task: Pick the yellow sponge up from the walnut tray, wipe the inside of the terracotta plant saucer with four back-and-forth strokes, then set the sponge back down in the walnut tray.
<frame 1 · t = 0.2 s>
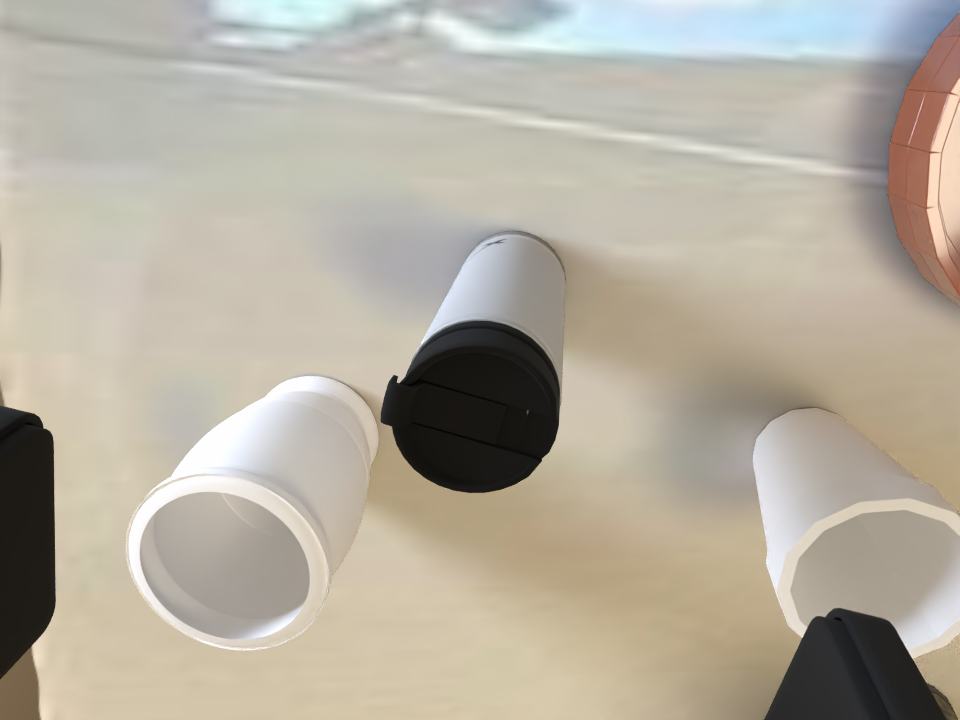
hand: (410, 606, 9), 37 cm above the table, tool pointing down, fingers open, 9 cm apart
travel mug: (511, 280, 46), on the table
foam cup: (803, 451, 48), on the table
jar: (319, 430, 52), on the table
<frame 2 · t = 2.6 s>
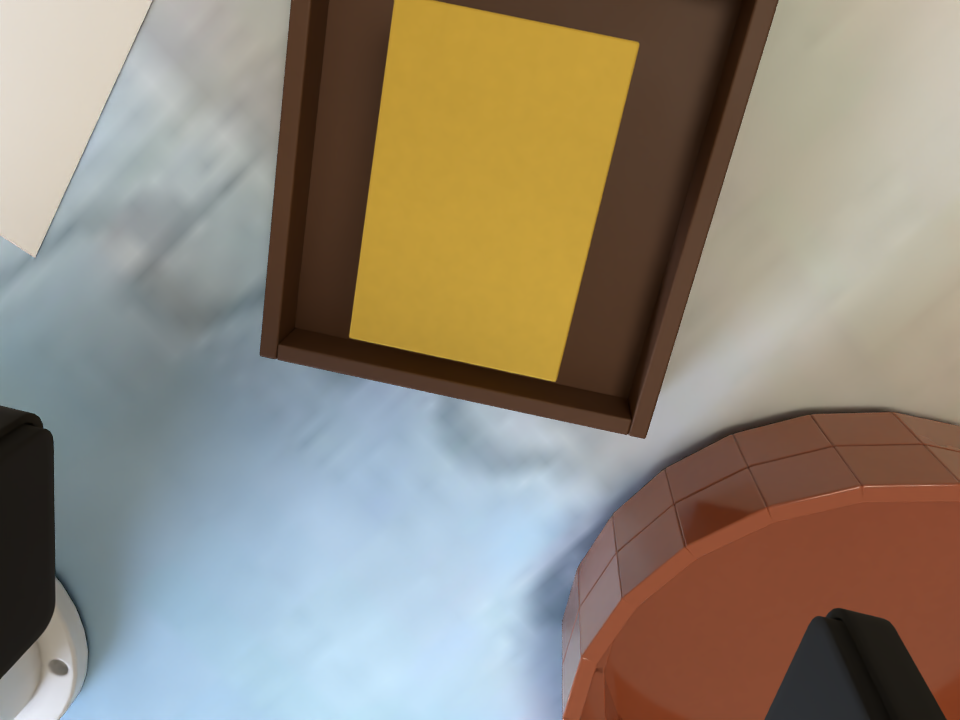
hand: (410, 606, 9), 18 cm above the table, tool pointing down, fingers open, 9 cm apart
terracotta plant saucer: (820, 639, 30), on the table
sponge: (496, 178, 25), resting on tray
tray: (497, 176, 25), on the table
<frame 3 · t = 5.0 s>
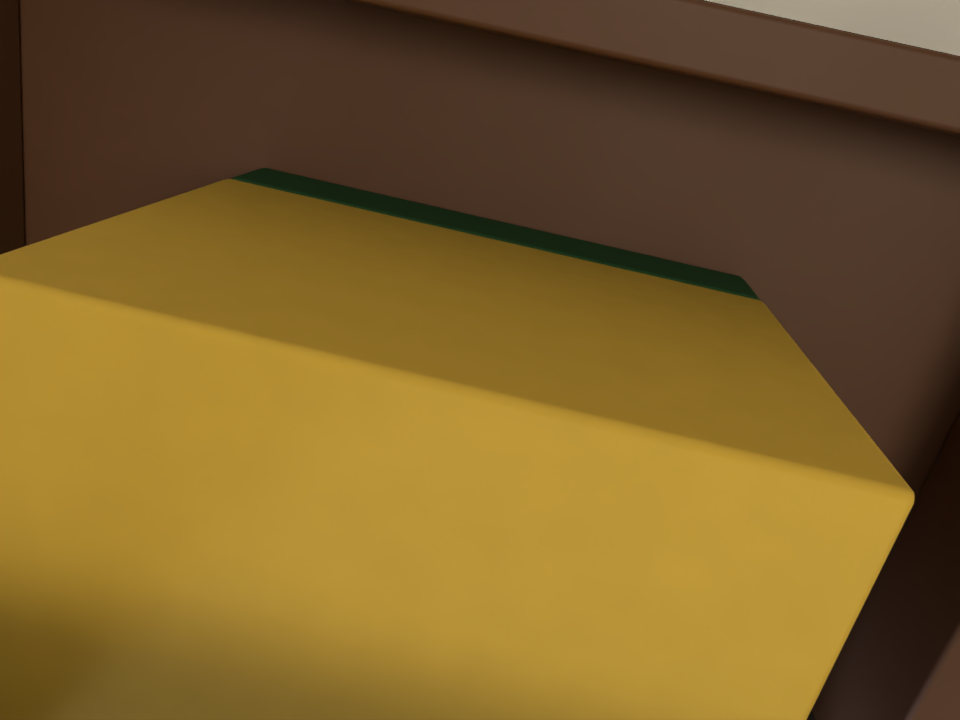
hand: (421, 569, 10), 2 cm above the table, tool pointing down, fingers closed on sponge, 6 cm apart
sponge: (434, 527, 11), point 1 cm above the table, touching gripper, tray
tray: (439, 508, 11), on the table
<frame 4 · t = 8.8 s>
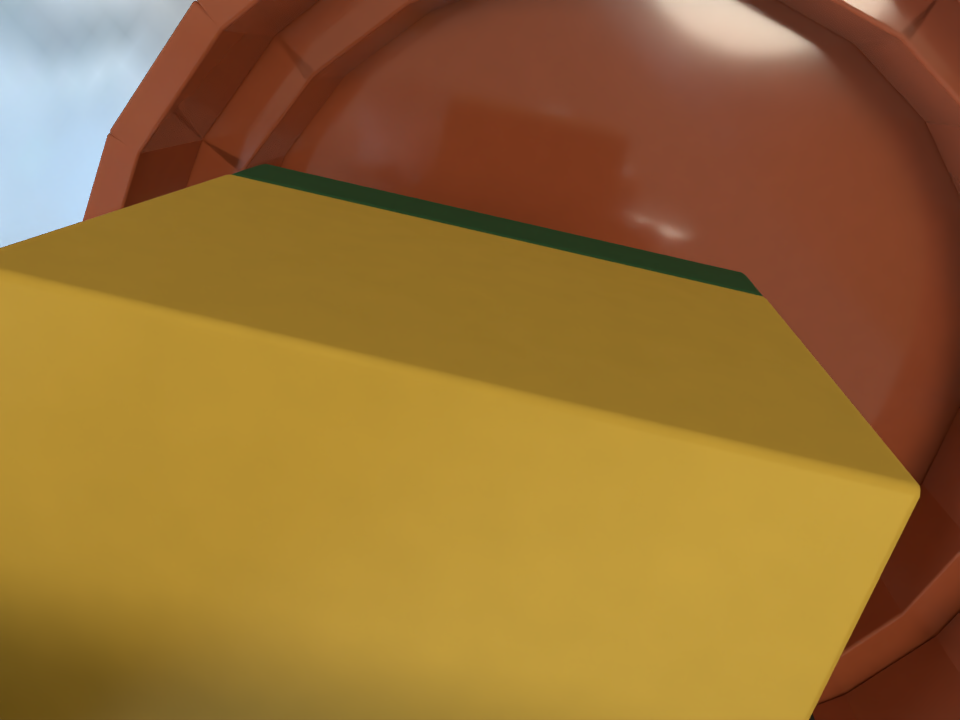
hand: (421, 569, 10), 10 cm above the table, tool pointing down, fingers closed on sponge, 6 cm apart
terracotta plant saucer: (591, 354, 19), on the table
sponge: (435, 524, 11), point 9 cm above the table, touching gripper
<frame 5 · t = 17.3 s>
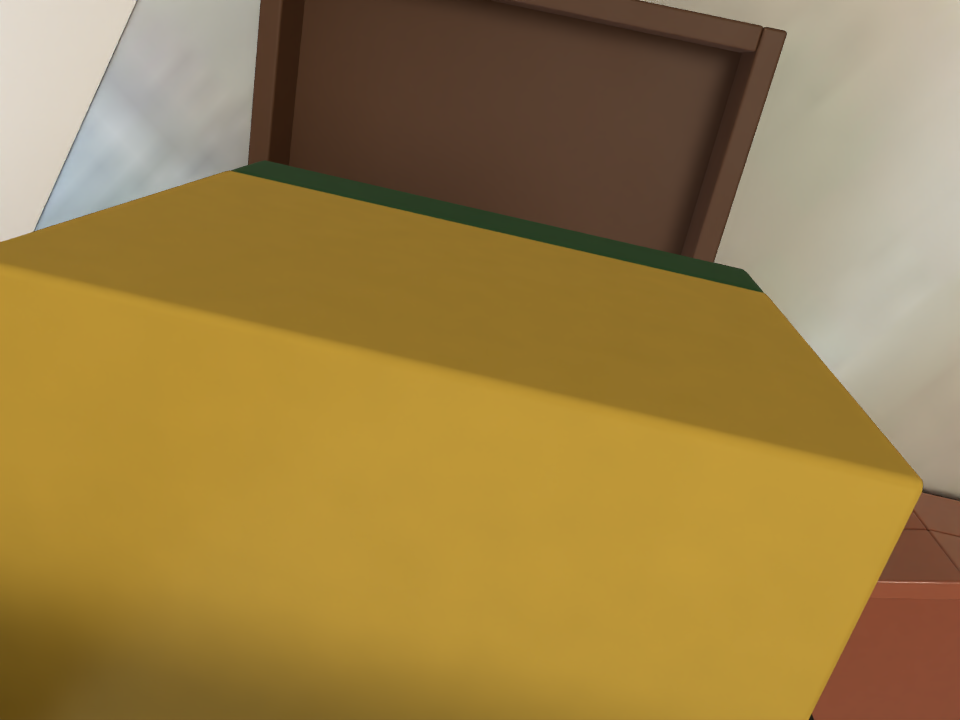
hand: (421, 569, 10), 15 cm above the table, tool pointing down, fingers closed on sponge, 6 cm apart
terracotta plant saucer: (817, 712, 29), on the table
sponge: (435, 522, 11), point 14 cm above the table, touching gripper
tray: (479, 235, 24), on the table
when the fingers open (1 cm above the table, at t = 20.9 s): sponge stays where it is, resting on tray.
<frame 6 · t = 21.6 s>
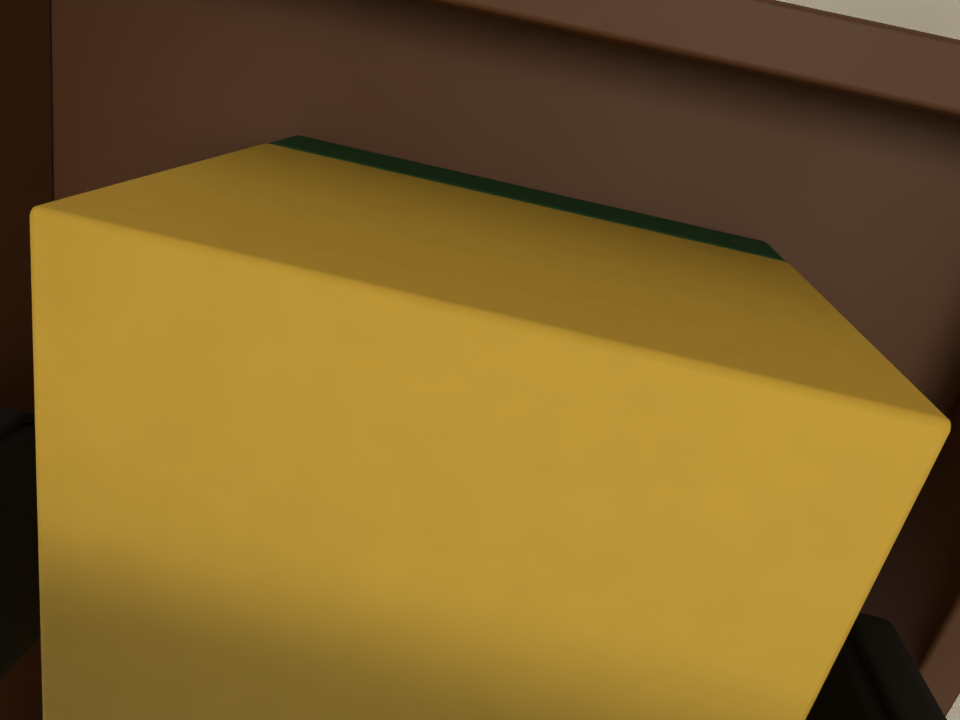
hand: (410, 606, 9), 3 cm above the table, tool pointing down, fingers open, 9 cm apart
sponge: (459, 492, 11), resting on tray
tray: (453, 486, 12), on the table
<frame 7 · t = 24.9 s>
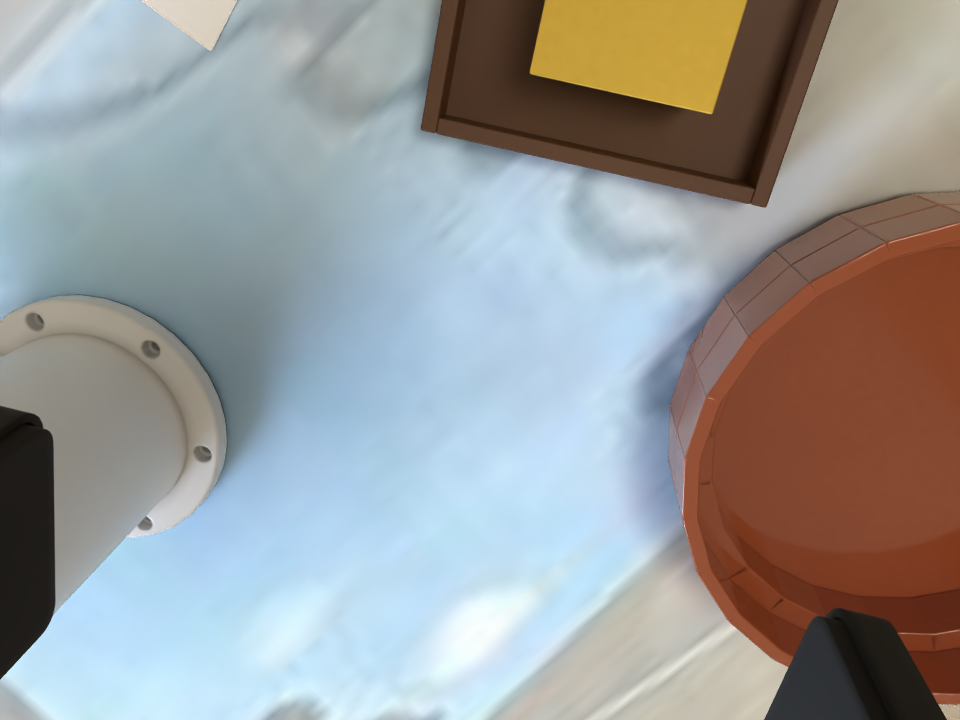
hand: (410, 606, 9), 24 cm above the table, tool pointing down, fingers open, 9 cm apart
terracotta plant saucer: (905, 425, 33), on the table
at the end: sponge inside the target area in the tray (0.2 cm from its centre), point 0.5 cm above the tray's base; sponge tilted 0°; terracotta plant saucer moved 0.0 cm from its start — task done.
